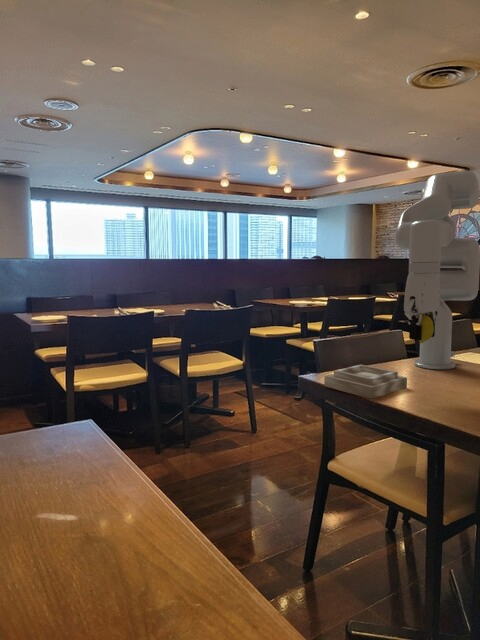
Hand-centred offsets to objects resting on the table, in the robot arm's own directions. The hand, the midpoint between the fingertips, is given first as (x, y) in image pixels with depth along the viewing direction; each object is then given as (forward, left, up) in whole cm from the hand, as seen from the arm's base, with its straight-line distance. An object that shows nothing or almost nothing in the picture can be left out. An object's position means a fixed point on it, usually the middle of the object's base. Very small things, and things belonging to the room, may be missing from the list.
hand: (421, 337), depth 121 cm
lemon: (0, 0, -2) cm, 2 cm away
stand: (+7, -13, -15) cm, 21 cm away
